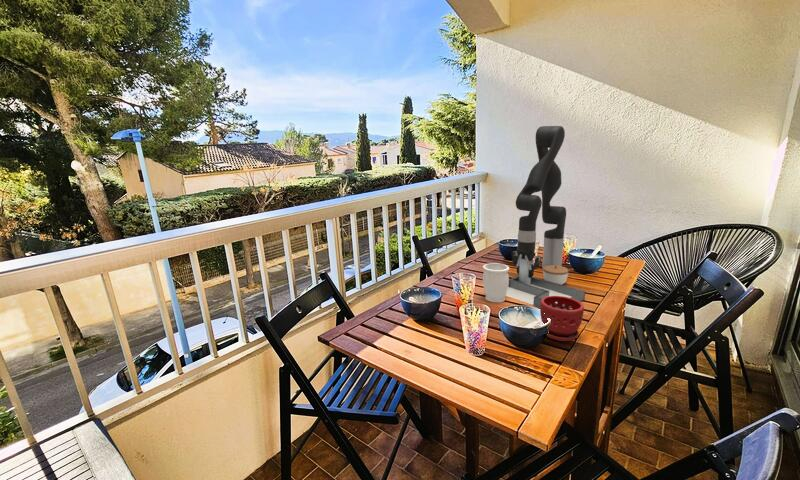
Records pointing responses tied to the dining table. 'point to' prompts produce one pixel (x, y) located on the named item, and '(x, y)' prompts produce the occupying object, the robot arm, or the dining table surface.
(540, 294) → the channel walls
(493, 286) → the jar
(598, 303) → the dining table surface
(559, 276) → the lidded jar
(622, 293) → the dining table surface
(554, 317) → the plant pot
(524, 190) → the robot arm
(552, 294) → the channel board
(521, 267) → the peg
